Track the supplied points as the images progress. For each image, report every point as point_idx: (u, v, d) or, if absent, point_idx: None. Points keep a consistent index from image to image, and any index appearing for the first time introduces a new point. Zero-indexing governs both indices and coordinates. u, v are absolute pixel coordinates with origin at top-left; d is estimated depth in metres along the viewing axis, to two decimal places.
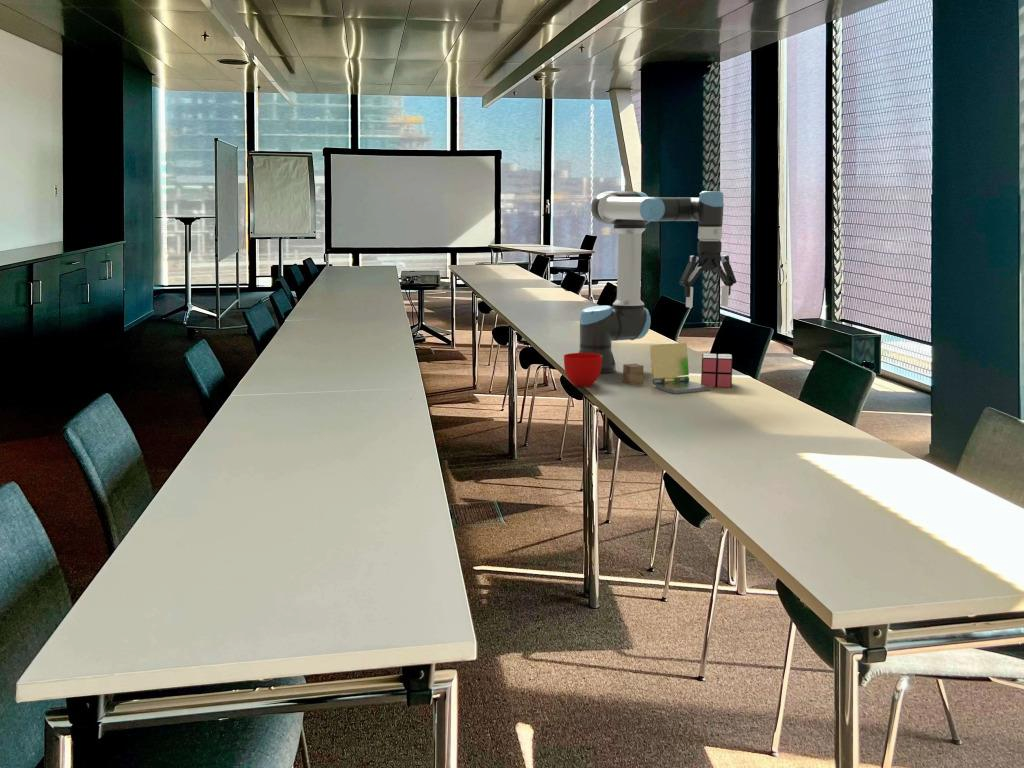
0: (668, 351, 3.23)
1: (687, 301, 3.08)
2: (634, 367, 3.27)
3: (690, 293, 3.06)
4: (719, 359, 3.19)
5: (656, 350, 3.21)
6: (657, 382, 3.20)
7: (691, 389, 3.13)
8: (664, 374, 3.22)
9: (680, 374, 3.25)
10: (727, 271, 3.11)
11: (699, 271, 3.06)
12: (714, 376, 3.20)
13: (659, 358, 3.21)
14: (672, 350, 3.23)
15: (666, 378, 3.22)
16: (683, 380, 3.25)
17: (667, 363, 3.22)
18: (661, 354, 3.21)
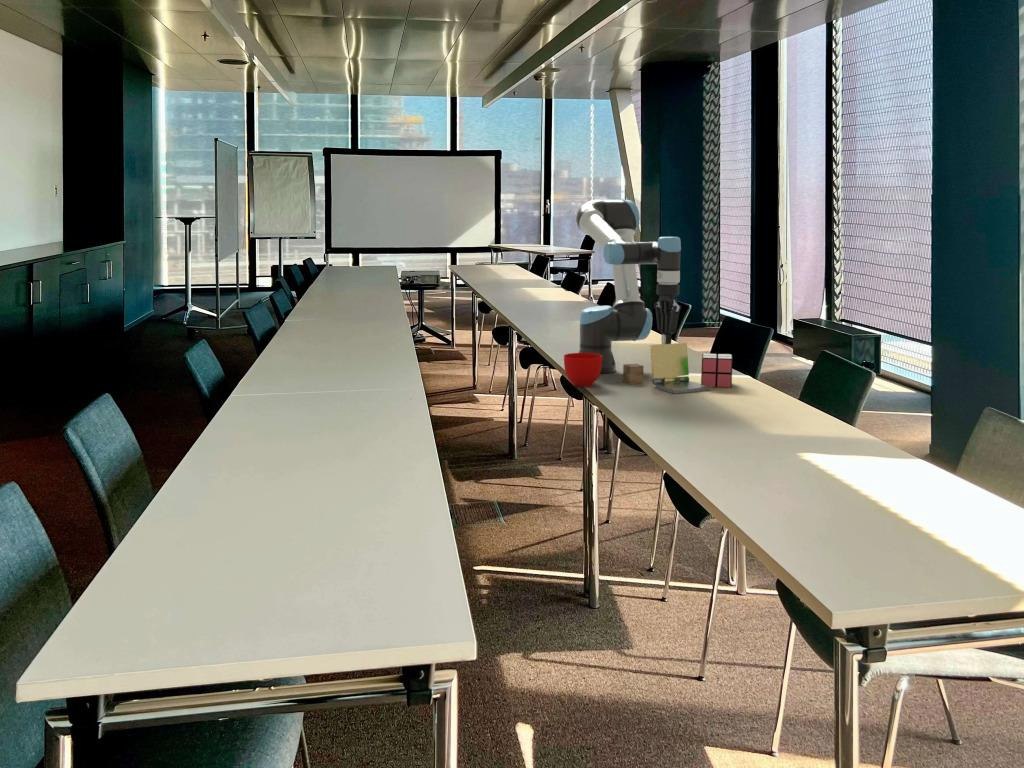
0: (668, 351, 3.22)
1: None
2: (634, 367, 3.27)
3: None
4: (719, 359, 3.19)
5: (656, 350, 3.20)
6: (657, 382, 3.20)
7: (691, 389, 3.13)
8: (664, 374, 3.22)
9: (680, 374, 3.25)
10: None
11: (661, 315, 3.23)
12: (714, 376, 3.20)
13: (659, 358, 3.21)
14: (672, 350, 3.23)
15: (666, 378, 3.22)
16: (683, 380, 3.25)
17: (667, 363, 3.22)
18: (661, 354, 3.21)
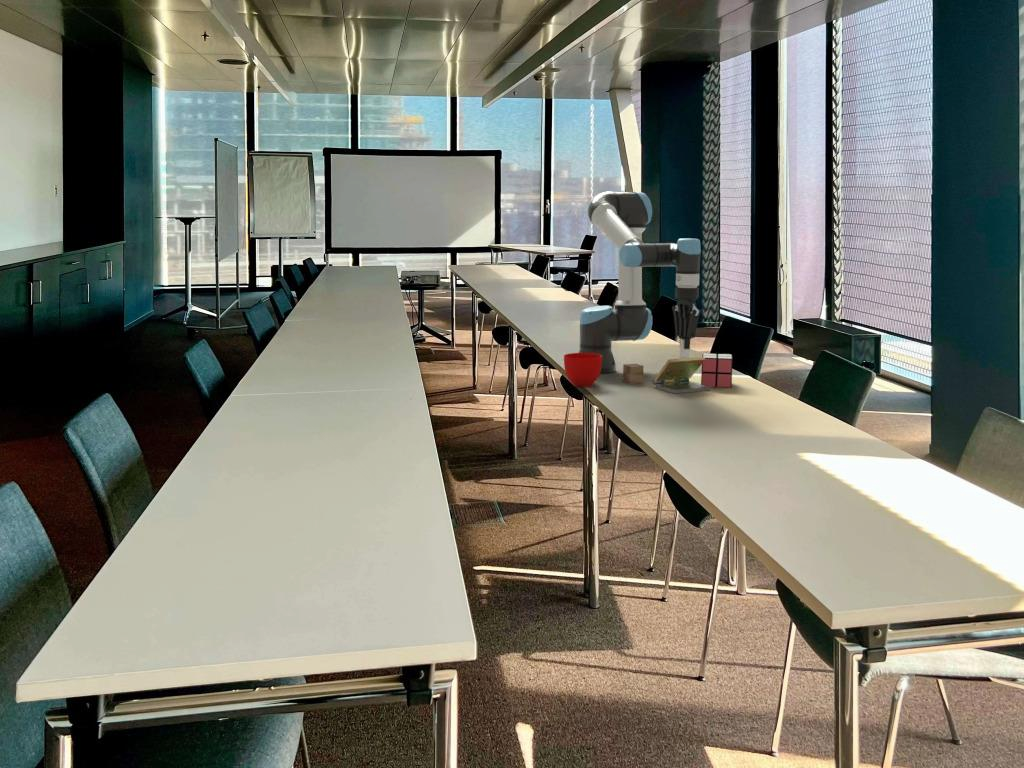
0: (683, 365, 3.16)
1: None
2: (634, 367, 3.27)
3: None
4: (719, 359, 3.19)
5: (671, 365, 3.13)
6: (657, 382, 3.20)
7: (691, 389, 3.13)
8: (667, 378, 3.20)
9: (682, 378, 3.23)
10: None
11: (680, 319, 3.14)
12: (714, 376, 3.20)
13: (670, 369, 3.16)
14: (687, 364, 3.16)
15: (667, 380, 3.22)
16: (683, 380, 3.25)
17: (675, 372, 3.18)
18: (674, 367, 3.15)
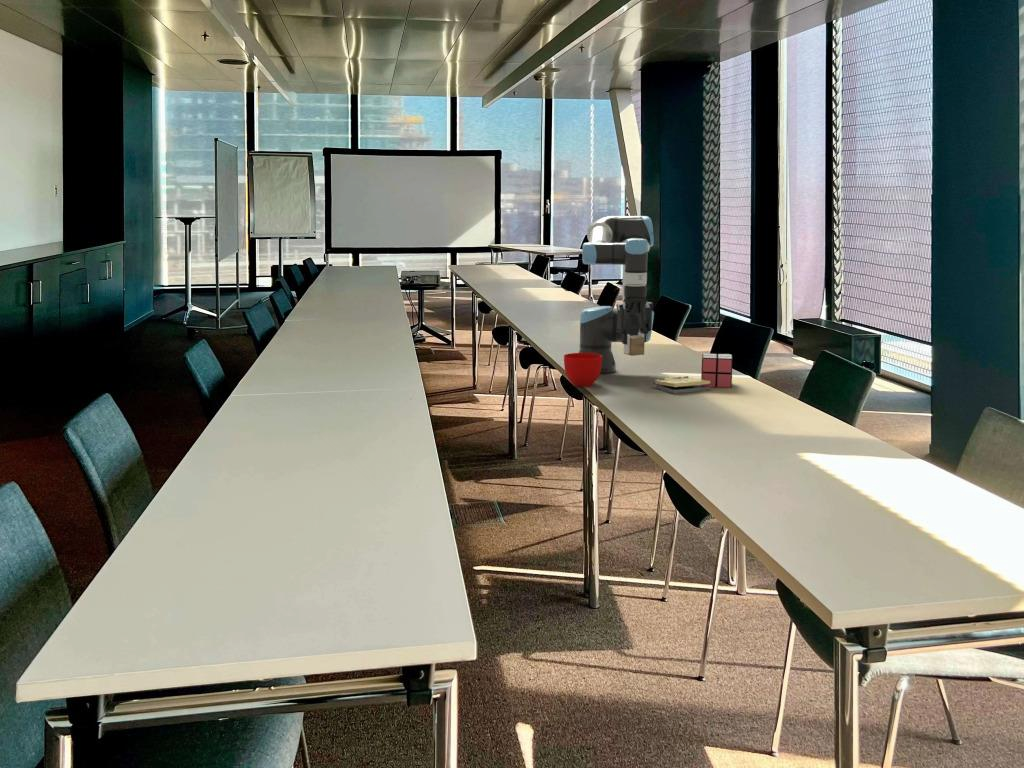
0: None
1: (625, 348, 3.28)
2: (635, 339, 3.25)
3: (627, 340, 3.26)
4: (719, 359, 3.19)
5: None
6: None
7: (691, 389, 3.13)
8: None
9: None
10: (647, 317, 3.29)
11: (630, 317, 3.24)
12: (714, 376, 3.20)
13: None
14: None
15: None
16: None
17: None
18: None
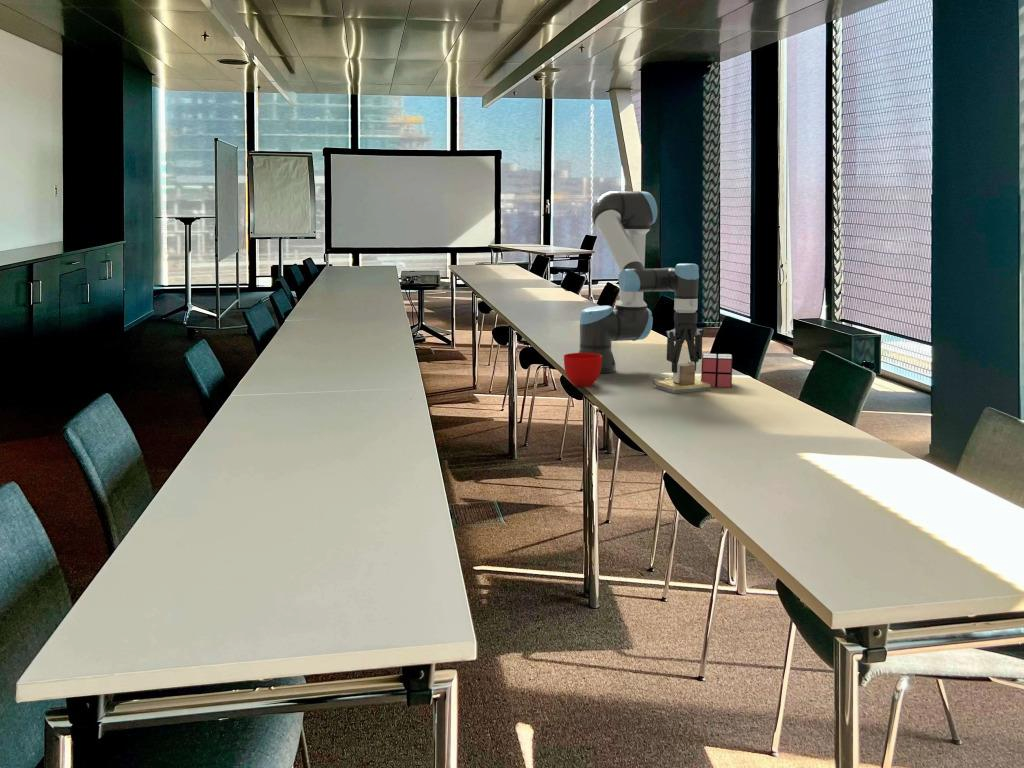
0: None
1: (674, 376, 3.16)
2: (685, 366, 3.13)
3: (677, 369, 3.14)
4: (719, 359, 3.19)
5: None
6: None
7: (691, 389, 3.13)
8: None
9: None
10: (697, 345, 3.17)
11: (680, 344, 3.13)
12: (713, 376, 3.20)
13: None
14: None
15: None
16: None
17: None
18: None
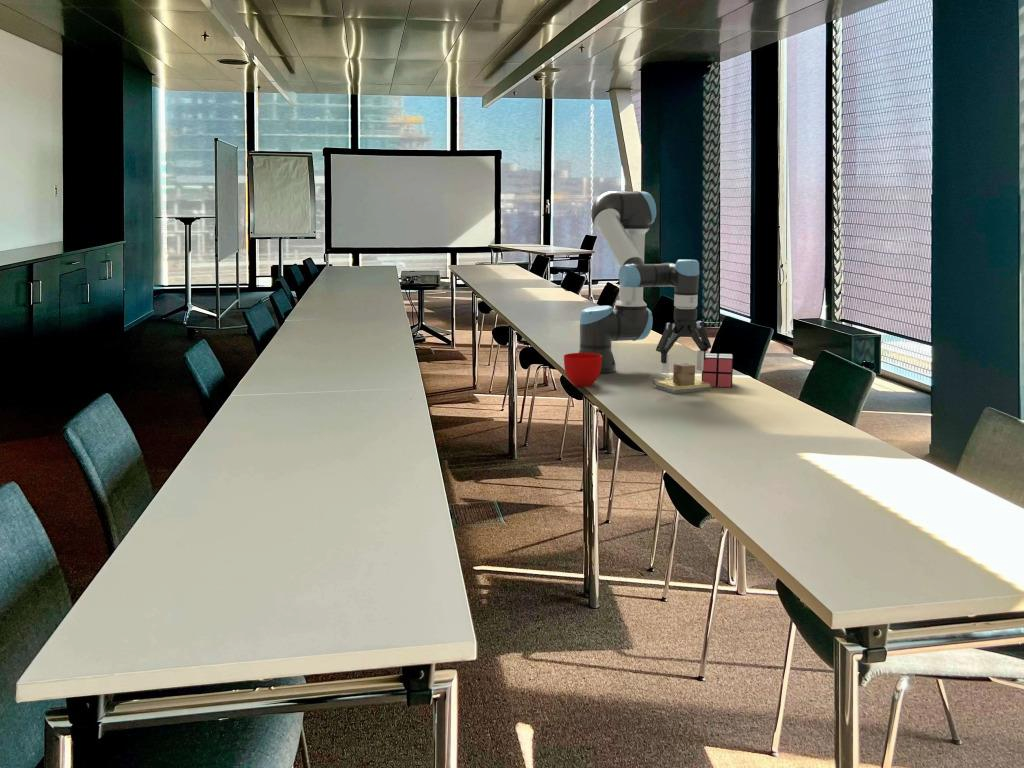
0: None
1: (664, 367, 3.14)
2: (685, 367, 3.13)
3: (667, 359, 3.12)
4: (719, 359, 3.19)
5: None
6: None
7: (691, 389, 3.13)
8: None
9: None
10: (702, 336, 3.18)
11: (675, 338, 3.12)
12: (714, 376, 3.20)
13: None
14: None
15: None
16: None
17: None
18: None
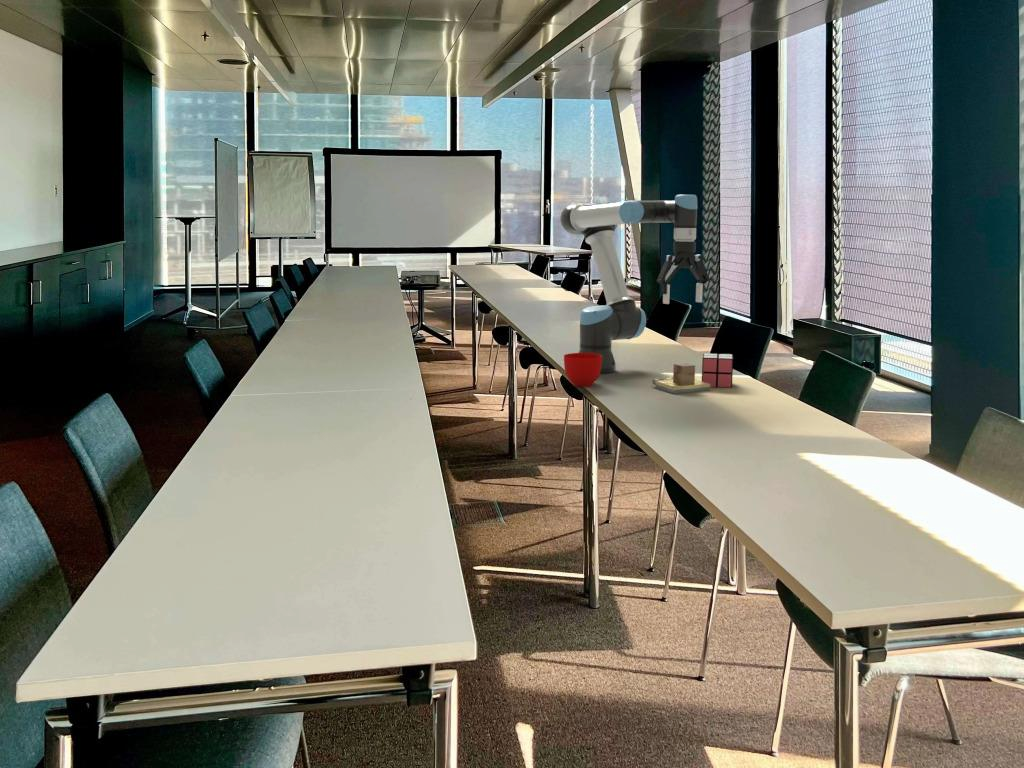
0: None
1: (664, 298, 3.28)
2: (685, 367, 3.13)
3: (667, 290, 3.26)
4: (719, 359, 3.19)
5: None
6: None
7: (691, 389, 3.13)
8: None
9: None
10: (701, 269, 3.32)
11: (675, 269, 3.26)
12: (714, 376, 3.20)
13: None
14: None
15: None
16: None
17: None
18: None
